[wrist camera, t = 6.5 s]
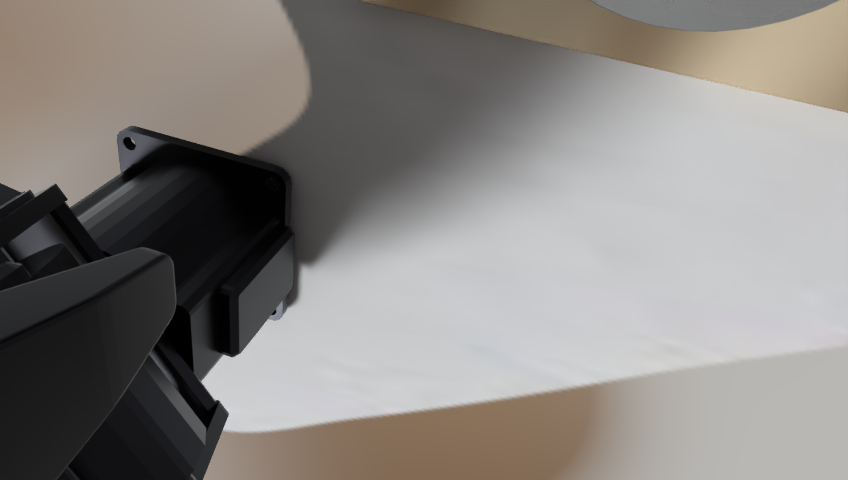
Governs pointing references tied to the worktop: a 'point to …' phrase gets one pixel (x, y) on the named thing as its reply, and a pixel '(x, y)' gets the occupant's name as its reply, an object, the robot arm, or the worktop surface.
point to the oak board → (677, 43)
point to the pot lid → (713, 12)
